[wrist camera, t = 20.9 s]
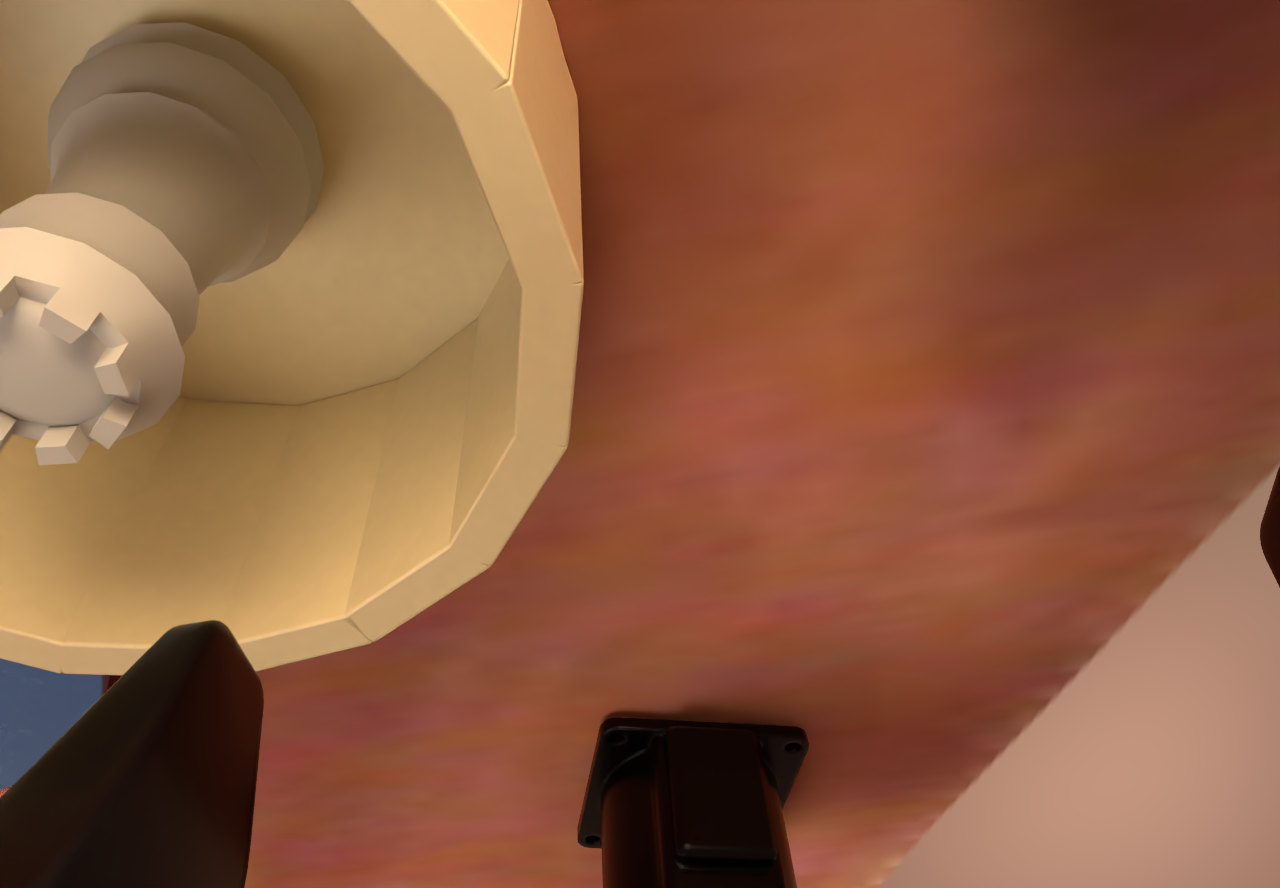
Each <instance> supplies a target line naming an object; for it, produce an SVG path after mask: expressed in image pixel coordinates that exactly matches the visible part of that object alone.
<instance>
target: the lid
mask: <svg viewBox="0 0 1280 888" xmlns="http://www.w3.org/2000/svg"><path fill="white" fill-rule="evenodd" d="M109 679H110V675H91V674H65V673H63V672H61V673H55V672H52V671H48V670H44V669H40V668H36V667H32V666H28V665H24V664H21V663H17V662H13V661H9V660H5V659H1V658H0V790H2V789H5V788H9V787H11V786H13V785H14V784H15V783H16V782H17V781H18V780H19V779H20V778H21V777H22V776H23V775H24V774H25V773H26V772H27V771H28V770H29V769H30V768H31V767H32V766H33V765H34V764H35V763H36V762H37V761H38V760H39V759H40V758H41V757H42V756H43V755H44V754H45V753H46V752H47V751H48V750H49V749H50V748H51V747H52V746H53V745H54V744H55V743H56V742H57V741H58V740H59V739H60V738H61V737H62V736H63V735H64V734H65V733H66V732H67V731H68V730H69V729H70V728H71V727H72V726H73V725H74V724H75V723H76V722H77V721H78V720H79V719H80V718H81V717H82V716H83V715H84V714H85V713H86V712H87V711H88V710H89V709H90V708H91V706H92V705H93V704H94V703H95V702H96V701H97V700H98V699H99V698H100V697H101V696H102V695H103V694H104V693H105V692H106V691H107V687H108V683H109Z"/></svg>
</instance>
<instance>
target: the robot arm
mask: <svg viewBox="0 0 1280 888" xmlns="http://www.w3.org/2000/svg"><path fill="white" fill-rule="evenodd" d="M1260 540H1261V546H1262V550H1263V553H1264V555H1265V558H1266V560H1267V562H1268V564H1269V566H1270V568H1271V570H1272V573H1273V574H1274V577H1275V579H1276V581H1277V583H1278V584H1279V587H1280V467H1279V469H1278V472H1277V475H1276V479H1275V482H1274V485H1273V488H1272V491H1271V495H1270V498H1269V501H1268V504H1267V507H1266V510H1265V514H1264V517H1263V520H1262V523H1261V528H1260ZM263 705H264V698H263V690H262V685H261V682H260V679H259V677H258V675H257V673H256V672H255V670H254V668H253V667H252V665H251V663H250V662H249V660H248V658H247V657H246V655H245V653H244V652H243V650H242V648H241V647H240V645H239V644H238V642H237V640H236V639H235V637H234V635H233V634H232V632H231V630H230V629H229V628H228V626H227V625H225V624H224V623H222V622H221V621H217V620H209V621H202V622H196V623H189V624H183V625H178V626H175V627H173V628H171V629H169V630H168V631H167V632H166V633H165V634H163V635H162V636H161V637H160V638H159V639H158V640H157V641H156V642H155V643H154V644H153V645H152V646H151V647H150V648H149V649H148V650H147V651H146V652H145V653H144V654H143V655H142V656H141V657H140V658H139V659H138V660H137V661H136V662H135V663H134V664H133V665H132V666H131V667H130V668H129V669H128V670H127V671H126V672H125V673H124V674H123V675H122V676H121V677H120V678H119V679H118V680H117V681H116V682H115V683H114V684H113V685H112V686H111V687H110V688H109V689H108V690H107V691H106V692H105V693H104V694H103V695H102V696H101V697H100V698H99V699H98V700H97V701H96V702H95V703H94V704H93V705H92V706H91V708H90V709H89V710H88V711H87V712H86V713H85V714H84V715H83V716H82V717H81V718H80V719H79V720H78V721H77V722H76V723H75V724H74V725H73V726H72V727H71V728H70V729H69V730H68V731H67V732H66V733H65V734H64V735H63V736H62V737H61V738H60V739H59V740H58V741H57V742H56V743H55V744H54V745H53V746H52V747H51V748H50V749H49V750H48V751H47V752H46V753H45V754H44V755H43V756H42V757H41V758H40V759H39V760H38V761H37V762H36V763H35V764H34V765H33V766H32V767H31V768H30V769H29V770H28V771H27V772H26V773H25V774H24V775H23V776H22V777H21V778H20V779H19V780H18V781H17V782H16V783H15V784H14V785H13V786H12V787H11V788H10V789H9V790H8V791H7V792H6V793H5V794H4V795H3V796H2V797H1V798H0V888H244V886H245V880H246V875H247V869H248V861H249V853H250V845H251V835H252V825H253V814H254V803H255V792H256V782H257V771H258V760H259V749H260V739H261V728H262V717H263ZM808 747H809V743H808V739H807V734H806V732H805V731H804V730H803V729H801V728H799V727H790V726H771V725H751V724H732V723H713V722H693V721H674V720H655V719H635V718H611V719H608V720H606V721H604V722H603V723H602V724H601V726H600V729H599V733H598V738H597V742H596V747H595V752H594V756H593V761H592V765H591V770H590V774H589V779H588V783H587V788H586V792H585V797H584V801H583V806H582V810H581V815H580V819H579V824H578V843H579V844H580V845H582V846H584V847H589V848H602V874H603V888H797V885H796V880H795V875H794V869H793V864H792V859H791V854H790V848H789V843H788V838H787V833H786V827H785V822H784V817H783V812H782V808H783V806H784V804H785V801H786V799H787V797H788V794H789V792H790V790H791V787H792V785H793V783H794V780H795V778H796V776H797V774H798V771H799V769H800V767H801V764H802V762H803V760H804V757H805V755H806V753H807V750H808Z"/></svg>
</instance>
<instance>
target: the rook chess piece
mask: <svg viewBox="0 0 1280 888" xmlns="http://www.w3.org/2000/svg"><path fill="white" fill-rule="evenodd" d="M47 164H48V166H49V169H50V171H51V175H50V182H51V183H50V185H49V187H48V188H47V190H46V192H45V194H37V195H34V196H32V197H30V198H28V199H26V200H24V201H22V202H20V203H18V204H16V205H14V206H12V207H10V208H9V209H7V210H5V211H3V212H2V214H1V216H0V451H1V450H2V448H3V447H4V445H5V444H6V443H7V441H8V440H9V438H10V437H11V436H12V434H13V435H18V436H22V437H26V438H31V439H35V440H40V441H39V442H38V444H37V445H36V447H35V451H36V455H37V459H38V464H39V465H53V464H71V463H78V462H79V460H80V458H81V457H82V455H83V453H84V452H85V450H86V449H87V447H88V445H89V444H90V442H93V441H97V442H98V443H100V444H101V445H102V446H104V447H105V448H107V449H109V448H110V447H111V445H112V444H113V443H114V442H115V440H121V439H123V438H125V437H127V436H130V435H132V434H134V433H136V432H139V431H141V430H143V429H146V428H148V427H150V426H152V425H155V424H157V423H158V422H159V420H160V419H161V418H162V417H163V415H164V414H165V413H166V412H167V410H168V409H169V408H170V407H171V405H172V404H173V403H174V402H175V400H176V399H177V398H178V397H179V396H180V392H181V384H182V377H183V369H184V362H185V355H184V352H183V350H182V346H183V345H184V343H185V342H186V341H187V340H188V338H189V337H190V336H191V335H192V333H193V332H194V331H195V329H196V321H197V314H198V307H199V300H200V298H199V295H200V294H201V293H202V292H203V291H204V290H205V289H206V288H207V287H208V286H213V285H216V284H218V283H224V282H233V281H235V280H237V279H240V278H242V277H244V276H246V275H248V274H250V273H252V272H255V271H257V270H259V269H261V268H263V267H265V266H267V265H269V264H271V263H273V262H274V261H276V260H277V259H278V258H279V257H280V256H281V255H282V254H283V252H284V251H285V250H286V249H287V247H288V246H289V245H290V244H291V242H292V241H293V240H294V239H295V237H296V236H297V235H298V234H299V232H300V231H301V230H302V229H303V225H304V224H305V222H306V221H307V220H308V219H309V217H310V216H311V215H312V214H313V212H314V211H315V210H316V207H317V202H318V197H319V192H320V188H321V183H322V178H323V173H324V168H325V167H324V163H323V158H322V154H321V150H320V145H319V141H318V136H317V132H316V128H315V123H314V120H313V119H312V117H311V116H310V114H309V113H308V111H307V110H306V108H305V107H304V105H303V104H302V102H301V100H300V99H299V97H298V96H297V94H296V93H295V91H294V90H293V88H292V87H291V85H290V84H289V82H288V81H287V79H286V78H285V76H284V75H282V74H281V73H280V72H278V71H277V70H276V69H275V68H273V67H272V66H271V65H269V64H268V63H267V62H266V61H264V60H263V59H262V58H260V57H259V56H258V55H257V54H255V53H254V52H253V51H251V50H250V49H249V48H247V47H246V46H245V45H244V44H242V43H241V42H240V41H238V40H235V39H232V38H229V37H226V36H223V35H220V34H218V33H215V32H212V31H209V30H206V29H203V28H200V27H197V26H194V25H191V24H188V23H186V22H179V23H155V24H132V25H130V26H128V27H126V28H125V29H123V30H121V31H119V32H117V33H115V34H114V35H112V36H110V37H108V38H106V39H104V40H103V41H101V42H99V43H97V44H95V45H93V46H92V47H90V49H89V50H88V52H87V53H86V55H85V57H84V58H83V60H82V62H81V63H80V64H79V65H77V66H75V67H74V68H73V69H72V71H71V73H70V74H69V76H68V78H67V79H66V81H65V83H64V84H63V86H62V88H61V89H60V91H59V93H58V94H57V96H56V98H55V99H54V101H53V102H52V104H51V107H50V111H49V116H48V137H47Z"/></svg>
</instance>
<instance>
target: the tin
mask: <svg viewBox="0 0 1280 888" xmlns="http://www.w3.org/2000/svg"><path fill="white" fill-rule="evenodd" d="M179 22H186V23H188V24H191V25H194V26H197V27H200V28H203V29H206V30H209V31H212V32H215V33H218V34H220V35H223V36H226V37H229V38H232V39H235V40H238V41H240V42H241V43H242V44H244V45H245V46H246V47H247V48H249V49H250V50H251V51H253V52H254V53H255V54H257V55H258V56H259V57H260V58H262V59H263V60H264V61H266V62H267V63H268V64H269V65H271V66H272V67H273V68H275V69H276V70H277V71H278V72H280V73H281V74H282V75H284V76H285V78H286V79H287V81H288V82H289V84H290V85H291V87H292V88H293V90H294V91H295V93H296V94H297V96H298V97H299V99H300V100H301V102H302V104H303V105H304V107H305V108H306V110H307V111H308V113H309V114H310V116H311V117H312V119H313V120H314V123H315V128H316V132H317V136H318V141H319V145H320V150H321V154H322V158H323V163H324V167H325V168H324V173H323V178H322V183H321V188H320V192H319V197H318V202H317V207H316V210H315V211H314V212H313V214H312V215H311V216H310V217H309V219H308V220H307V221H306V222H305V224H304V225H303V229H302V230H301V231H300V232H299V234H298V235H297V236H296V237H295V239H294V240H293V241H292V242H291V244H290V245H289V246H288V247H287V249H286V250H285V251H284V252H283V254H282V255H281V256H280V257H279V258H278V259H277V260H276V261H274V262H273V263H271V264H269V265H267V266H265V267H263V268H261V269H259V270H257V271H255V272H252V273H250V274H248V275H246V276H244V277H242V278H240V279H237V280H235V281H233V282H224V283H218V284H216V285H213V286H208V287H207V288H206V289H205V290H204V291H203V292H202V293H201V294H200V295H199V298H200V300H199V307H198V314H197V321H196V329H195V331H194V332H193V333H192V335H191V336H190V337H189V338H188V340H187V341H186V342H185V343H184V345H183V346H182V350H183V352H184V355H185V362H184V369H183V377H182V384H181V392H180V396H179V397H178V398H177V399H176V400H175V402H174V403H173V404H172V405H171V407H170V408H169V409H168V410H167V412H166V413H165V414H164V415H163V417H162V418H161V419H160V420H159V422H158V423H157V424H155V425H152V426H150V427H148V428H146V429H143V430H141V431H139V432H136V433H134V434H132V435H130V436H127V437H125V438H123V439H121V440H115V442H114V443H113V444H112V445H111V447H110V448H109V449H107V448H105V447H104V446H102V445H101V444H100V443H98V442H97V441H93V442H90V444H89V445H88V447H87V449H86V450H85V452H84V453H83V455H82V457H81V458H80V460H79V462H78V463H71V464H53V465H39V464H38V459H37V455H36V451H35V447H36V445H37V444H38V442H39V441H40V440H35V439H31V438H26V437H22V436H18V435H13V434H12V436H11V437H10V438H9V440H8V441H7V443H6V444H5V445H4V447H3V448H2V450H1V451H0V658H1V659H5V660H9V661H13V662H17V663H21V664H24V665H28V666H32V667H36V668H40V669H44V670H48V671H52V672H55V673H61V672H63V673H65V674H91V675H123V674H124V673H125V672H126V671H127V670H128V669H129V668H130V667H131V666H132V665H133V664H134V663H135V662H136V661H137V660H138V659H139V658H140V657H141V656H142V655H143V654H144V653H145V652H146V651H147V650H148V649H149V648H150V647H151V646H152V645H153V644H154V643H155V642H156V641H157V640H158V639H159V638H160V637H161V636H162V635H163V634H165V633H166V632H167V631H168V630H169V629H171V628H173V627H175V626H178V625H183V624H189V623H196V622H202V621H209V620H217V621H221V622H222V623H224V624H225V625H227V626H228V628H229V629H230V630H231V632H232V634H233V635H234V637H235V639H236V640H237V642H238V644H239V645H240V647H241V648H242V650H243V652H244V653H245V655H246V657H247V658H248V660H249V662H250V663H251V665H252V667H253V668H254V670H255V672H256V671H260V670H264V669H268V668H272V667H277V666H281V665H285V664H289V663H293V662H297V661H301V660H305V659H309V658H314V657H318V656H322V655H326V654H330V653H334V652H338V651H342V650H346V649H351V648H355V647H359V646H363V645H367V644H370V643H372V642H373V641H374V642H375V641H377V640H379V639H381V638H382V637H384V636H385V635H387V634H388V633H390V632H391V631H393V630H394V629H396V628H397V627H399V626H401V625H402V624H404V623H405V622H407V621H408V620H410V619H411V618H413V617H414V616H416V615H418V614H419V613H421V612H422V611H424V610H425V609H427V608H428V607H430V606H431V605H433V604H434V603H436V602H438V601H439V600H441V599H442V598H444V597H445V596H447V595H448V594H450V593H451V592H453V591H454V590H456V589H458V588H459V587H461V586H462V585H464V584H465V583H467V582H468V581H470V580H471V579H473V578H474V577H476V576H478V575H479V574H481V573H482V572H484V571H485V570H487V569H488V568H489V567H490V566H492V565H493V564H494V562H495V561H496V559H497V557H498V556H499V554H500V553H501V551H502V550H503V548H504V547H505V545H506V543H507V542H508V540H509V539H510V537H511V536H512V534H513V532H514V531H515V529H516V528H517V526H518V525H519V523H520V521H521V520H522V518H523V517H524V515H525V514H526V512H527V511H528V509H529V507H530V506H531V504H532V503H533V501H534V500H535V498H536V496H537V495H538V493H539V492H540V490H541V489H542V487H543V486H544V484H545V482H546V481H547V479H548V478H549V476H550V475H551V473H552V471H553V470H554V468H555V467H556V465H557V464H558V462H559V460H560V459H561V457H562V456H563V454H564V453H565V451H566V450H567V446H568V444H569V438H570V427H571V416H572V406H573V395H574V385H575V374H576V363H577V353H578V342H579V332H580V321H581V311H582V300H583V289H584V273H583V243H582V212H581V181H580V150H579V119H578V101H577V95H576V92H575V89H574V86H573V82H572V79H571V76H570V73H569V70H568V67H567V64H566V61H565V57H564V53H563V50H562V46H561V42H560V38H559V34H558V30H557V26H556V22H555V18H554V16H553V13H552V10H551V8H550V5H549V3H548V0H0V216H1V214H2V212H3V211H5V210H7V209H9V208H10V207H12V206H14V205H16V204H18V203H20V202H22V201H24V200H26V199H28V198H30V197H32V196H34V195H37V194H45V192H46V190H47V188H48V187H49V185H50V183H51V182H50V175H51V171H50V169H49V166H48V164H47V137H48V116H49V111H50V107H51V104H52V102H53V101H54V99H55V98H56V96H57V94H58V93H59V91H60V89H61V88H62V86H63V84H64V83H65V81H66V79H67V78H68V76H69V74H70V73H71V71H72V69H73V68H74V67H75V66H77V65H79V64H80V63H81V62H82V60H83V58H84V57H85V55H86V53H87V52H88V50H89V49H90V47H92V46H93V45H95V44H97V43H99V42H101V41H103V40H104V39H106V38H108V37H110V36H112V35H114V34H115V33H117V32H119V31H121V30H123V29H125V28H126V27H128V26H130V25H132V24H155V23H179Z"/></svg>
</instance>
